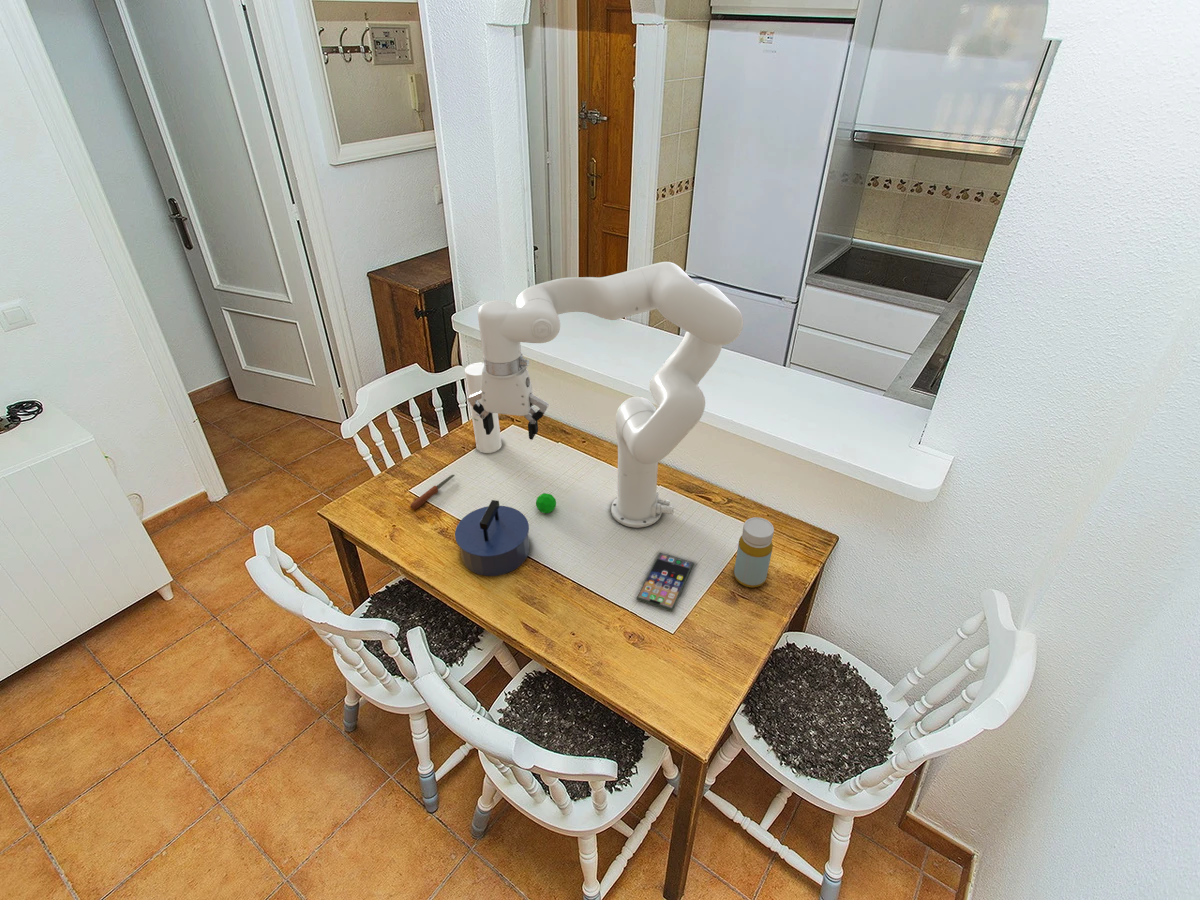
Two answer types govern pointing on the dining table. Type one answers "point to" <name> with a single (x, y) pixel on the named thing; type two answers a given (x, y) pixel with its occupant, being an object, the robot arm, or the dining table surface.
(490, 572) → the pot
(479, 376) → the cylindrical container
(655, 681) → the dining table surface
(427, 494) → the kitchen knife
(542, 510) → the polyhedron
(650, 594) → the smartphone
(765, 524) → the bottle
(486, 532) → the lid
